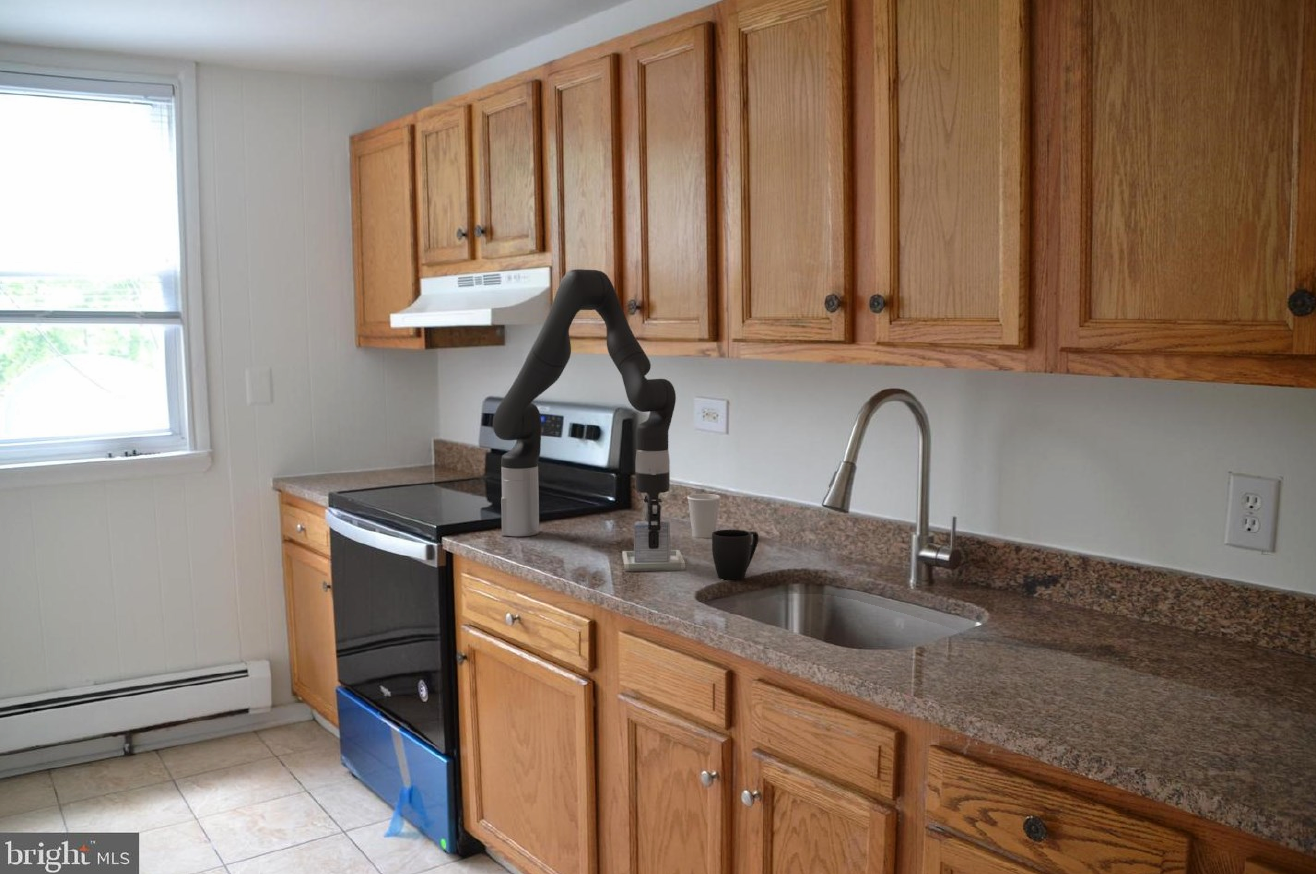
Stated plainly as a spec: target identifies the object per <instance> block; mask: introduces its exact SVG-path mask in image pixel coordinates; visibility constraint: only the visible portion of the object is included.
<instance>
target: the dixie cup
mask: <svg viewBox="0 0 1316 874" xmlns="http://www.w3.org/2000/svg"><path fill="white" fill-rule="evenodd" d="M721 498H722V497H721V495H718V494H714V493H712V494H711V493H694V494H688V495H687V502H688V509H689V517H690V518H689V519H690V525H691V534H692V537H694V538H697V539H712V533H713V532H715V531H717V523H718V514H719V507H720V500H721Z"/></svg>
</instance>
